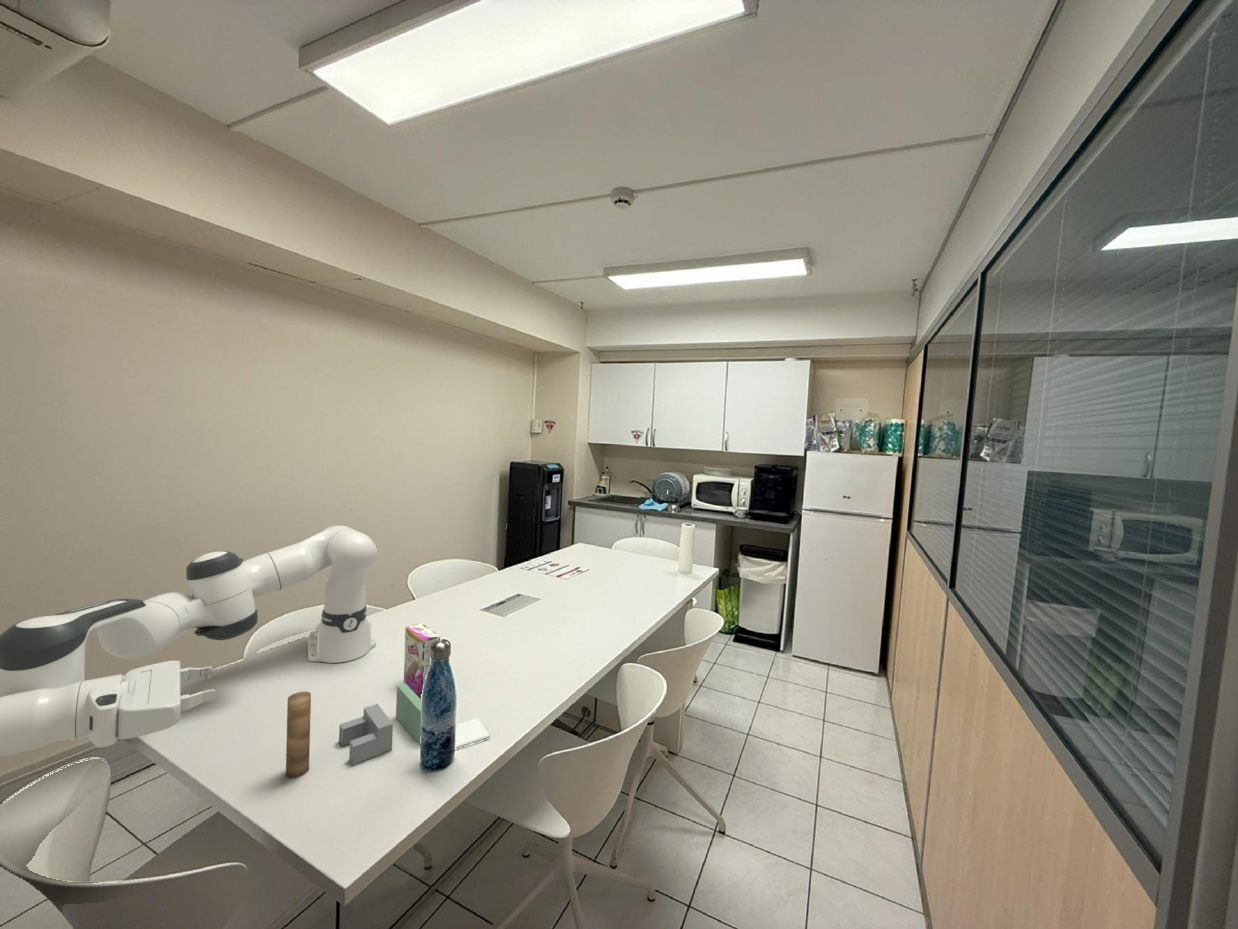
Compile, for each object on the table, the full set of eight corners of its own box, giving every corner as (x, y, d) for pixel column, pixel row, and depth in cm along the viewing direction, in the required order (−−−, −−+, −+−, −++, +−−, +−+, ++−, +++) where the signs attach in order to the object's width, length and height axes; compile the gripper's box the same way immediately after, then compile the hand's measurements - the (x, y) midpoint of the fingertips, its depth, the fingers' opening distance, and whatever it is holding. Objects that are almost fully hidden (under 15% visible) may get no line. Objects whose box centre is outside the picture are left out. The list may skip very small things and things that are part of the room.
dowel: (283, 770, 100) (285, 695, 99) (306, 762, 103) (308, 689, 102) (288, 781, 98) (289, 704, 96) (311, 772, 100) (313, 697, 99)
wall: (395, 716, 121) (397, 685, 120) (404, 713, 122) (405, 683, 122) (418, 744, 111) (420, 711, 110) (427, 741, 112) (428, 708, 112)
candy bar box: (402, 683, 136) (404, 626, 135) (419, 677, 140) (421, 622, 139) (421, 700, 129) (423, 640, 128) (438, 693, 132) (441, 635, 131)
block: (339, 741, 110) (339, 716, 110) (376, 727, 116) (377, 703, 115) (352, 764, 103) (353, 737, 103) (391, 749, 109) (392, 723, 108)
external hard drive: (489, 741, 115) (435, 759, 108) (477, 723, 121) (425, 739, 114) (490, 735, 115) (435, 752, 107) (477, 717, 121) (426, 732, 114)
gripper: (111, 695, 89) (210, 676, 98) (97, 754, 74) (216, 724, 83) (112, 662, 88) (211, 645, 98) (99, 713, 73) (217, 688, 83)
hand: (213, 682), depth 90 cm, fingers open, 8 cm apart
